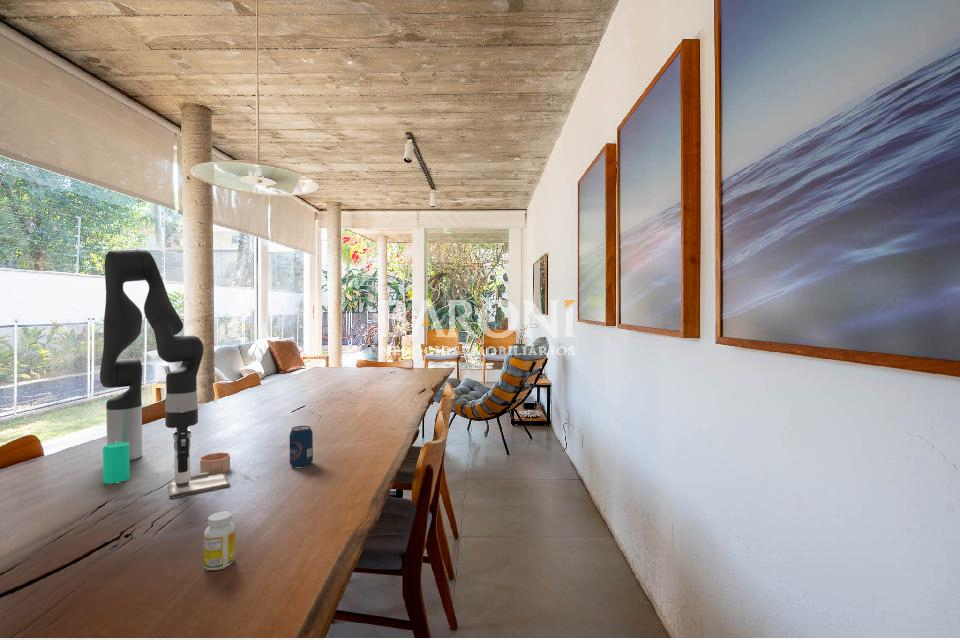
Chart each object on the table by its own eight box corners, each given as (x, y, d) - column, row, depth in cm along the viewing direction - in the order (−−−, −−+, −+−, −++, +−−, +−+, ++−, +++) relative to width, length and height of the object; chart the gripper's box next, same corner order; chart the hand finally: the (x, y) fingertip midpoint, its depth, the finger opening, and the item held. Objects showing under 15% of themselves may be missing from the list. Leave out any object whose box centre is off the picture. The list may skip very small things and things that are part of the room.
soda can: (284, 466, 141) (284, 429, 141) (301, 460, 148) (300, 424, 148) (301, 469, 139) (301, 431, 138) (317, 462, 145) (317, 426, 145)
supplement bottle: (209, 575, 83) (209, 525, 83) (199, 565, 87) (199, 516, 87) (240, 563, 88) (239, 515, 87) (229, 553, 91) (228, 507, 91)
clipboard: (168, 485, 126) (168, 479, 126) (224, 474, 134) (224, 468, 134) (169, 498, 117) (169, 491, 117) (229, 486, 126) (229, 480, 126)
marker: (174, 483, 124) (173, 441, 124) (190, 480, 126) (189, 438, 126) (174, 488, 121) (174, 444, 121) (191, 485, 123) (190, 442, 123)
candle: (114, 485, 126) (114, 443, 126) (97, 483, 127) (97, 441, 127) (135, 477, 132) (134, 437, 132) (118, 475, 133) (118, 435, 133)
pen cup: (199, 469, 138) (199, 455, 138) (227, 464, 143) (227, 451, 143) (201, 477, 132) (201, 462, 132) (231, 471, 137) (231, 457, 137)
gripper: (164, 405, 127) (165, 465, 127) (165, 414, 115) (166, 480, 115) (195, 402, 131) (196, 460, 131) (200, 411, 120) (200, 474, 120)
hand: (182, 469), depth 123 cm, fingers closed on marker, 3 cm apart
